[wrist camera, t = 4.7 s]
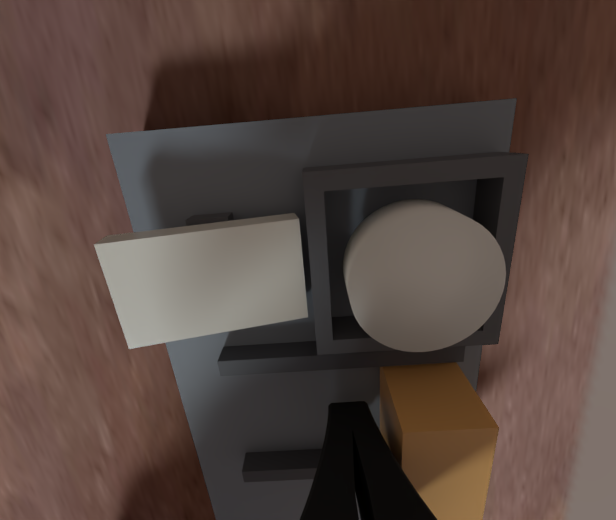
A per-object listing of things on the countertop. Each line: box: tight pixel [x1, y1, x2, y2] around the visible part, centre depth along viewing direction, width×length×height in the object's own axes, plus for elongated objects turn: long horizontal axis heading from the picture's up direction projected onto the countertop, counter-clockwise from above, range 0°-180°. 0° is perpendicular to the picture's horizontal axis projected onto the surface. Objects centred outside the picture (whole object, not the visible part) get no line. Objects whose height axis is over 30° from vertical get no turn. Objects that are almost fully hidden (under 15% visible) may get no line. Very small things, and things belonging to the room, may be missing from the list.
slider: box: [380, 362, 499, 520], centre depth 10 cm, size 2×4×3 cm, turn 5°
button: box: [343, 199, 506, 352], centre depth 8 cm, size 4×4×2 cm
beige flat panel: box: [94, 213, 308, 349], centre depth 9 cm, size 5×3×1 cm, turn 94°
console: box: [106, 98, 528, 520], centre depth 12 cm, size 11×18×3 cm, turn 5°
